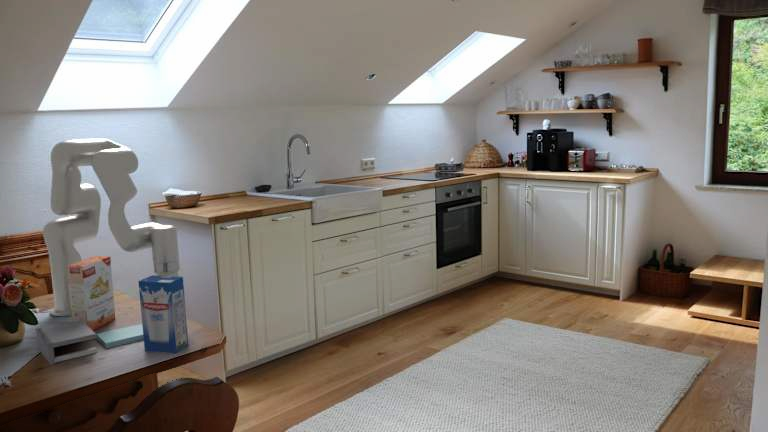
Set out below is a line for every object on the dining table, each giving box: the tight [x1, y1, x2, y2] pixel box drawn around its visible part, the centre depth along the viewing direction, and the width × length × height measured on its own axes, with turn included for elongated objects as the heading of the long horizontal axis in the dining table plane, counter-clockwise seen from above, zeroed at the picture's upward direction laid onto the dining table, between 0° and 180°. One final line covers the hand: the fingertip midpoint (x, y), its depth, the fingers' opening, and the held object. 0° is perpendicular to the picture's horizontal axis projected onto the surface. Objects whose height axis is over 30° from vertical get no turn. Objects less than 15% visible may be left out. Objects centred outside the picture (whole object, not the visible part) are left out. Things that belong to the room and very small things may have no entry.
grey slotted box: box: [35, 320, 98, 365], centre depth 183 cm, size 16×12×6 cm
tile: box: [95, 323, 144, 349], centre depth 194 cm, size 10×16×2 cm, turn 128°
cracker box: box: [67, 255, 116, 332], centre depth 203 cm, size 14×6×21 cm, turn 168°
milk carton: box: [138, 275, 189, 354], centre depth 182 cm, size 10×6×20 cm, turn 75°
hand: (171, 324), depth 201 cm, fingers closed
